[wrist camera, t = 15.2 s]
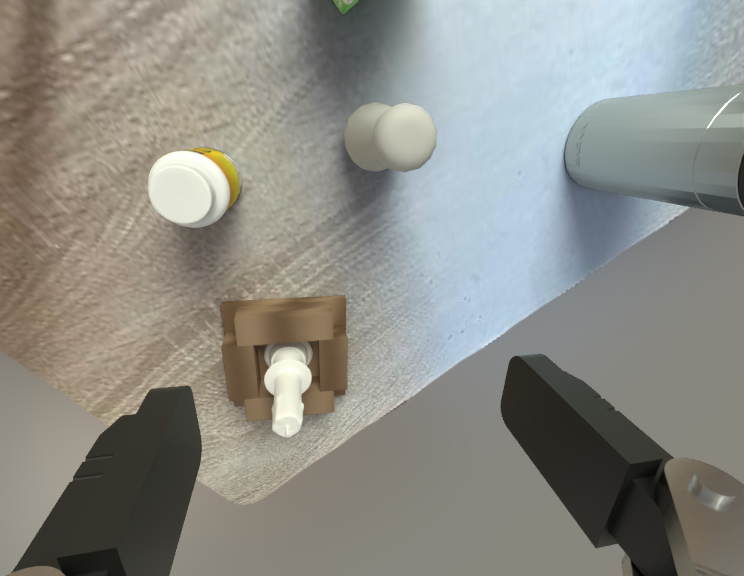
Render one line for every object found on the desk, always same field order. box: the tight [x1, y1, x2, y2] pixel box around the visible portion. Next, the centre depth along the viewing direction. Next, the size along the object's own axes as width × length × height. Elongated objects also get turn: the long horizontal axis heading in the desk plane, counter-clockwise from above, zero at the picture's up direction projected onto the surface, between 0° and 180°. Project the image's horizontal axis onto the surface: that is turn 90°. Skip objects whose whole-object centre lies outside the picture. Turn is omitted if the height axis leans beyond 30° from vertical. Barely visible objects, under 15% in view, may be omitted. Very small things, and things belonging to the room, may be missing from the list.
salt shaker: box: [344, 102, 437, 172], centre depth 29 cm, size 6×6×13 cm
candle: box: [264, 341, 313, 438], centre depth 36 cm, size 5×5×12 cm
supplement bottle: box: [148, 148, 242, 228], centre depth 29 cm, size 6×6×10 cm
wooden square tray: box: [221, 295, 348, 422], centre depth 41 cm, size 13×13×4 cm
